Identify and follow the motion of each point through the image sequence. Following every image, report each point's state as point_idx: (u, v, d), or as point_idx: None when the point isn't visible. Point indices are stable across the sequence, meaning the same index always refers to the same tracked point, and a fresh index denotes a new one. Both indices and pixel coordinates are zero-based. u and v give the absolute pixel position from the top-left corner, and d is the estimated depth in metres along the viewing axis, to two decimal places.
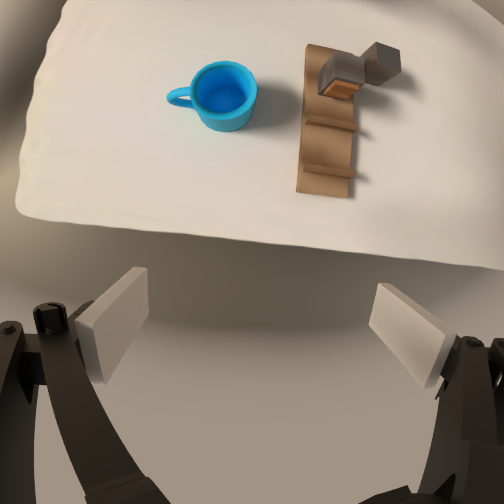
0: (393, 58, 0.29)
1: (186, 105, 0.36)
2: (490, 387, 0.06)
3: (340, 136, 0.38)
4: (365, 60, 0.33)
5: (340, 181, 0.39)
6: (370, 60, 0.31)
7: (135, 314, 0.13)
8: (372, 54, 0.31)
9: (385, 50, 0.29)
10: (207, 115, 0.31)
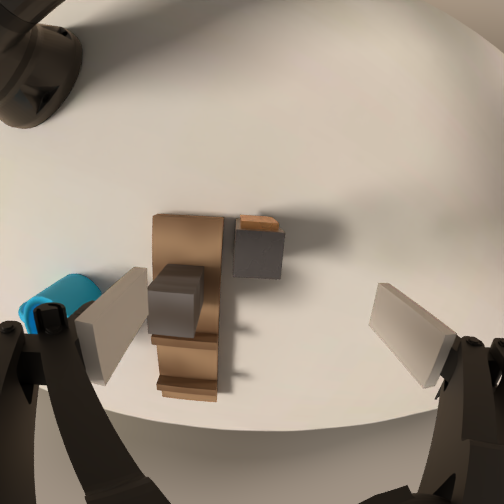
0: (268, 256, 0.24)
1: None
2: (490, 387, 0.06)
3: None
4: None
5: None
6: None
7: (135, 314, 0.13)
8: None
9: (253, 244, 0.23)
10: None
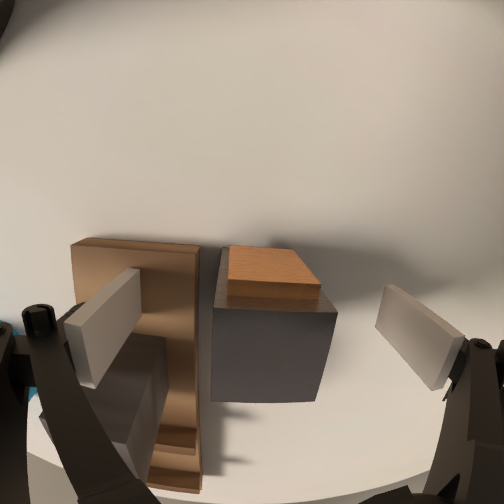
0: (292, 364, 0.09)
1: None
2: (497, 389, 0.05)
3: None
4: None
5: None
6: None
7: (127, 316, 0.12)
8: None
9: (257, 340, 0.09)
10: None
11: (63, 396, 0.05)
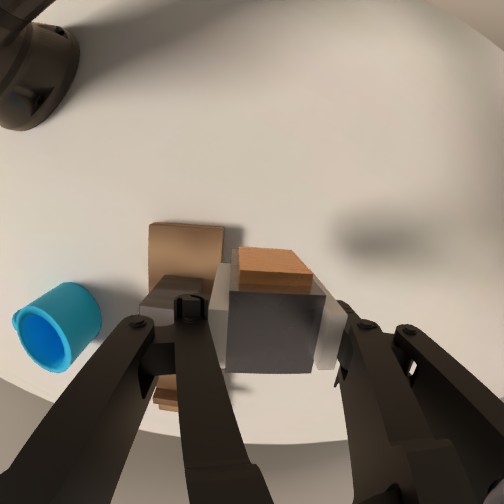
0: (291, 338, 0.12)
1: None
2: (401, 374, 0.07)
3: None
4: None
5: None
6: None
7: None
8: None
9: (263, 318, 0.12)
10: (40, 365, 0.23)
11: (201, 379, 0.07)
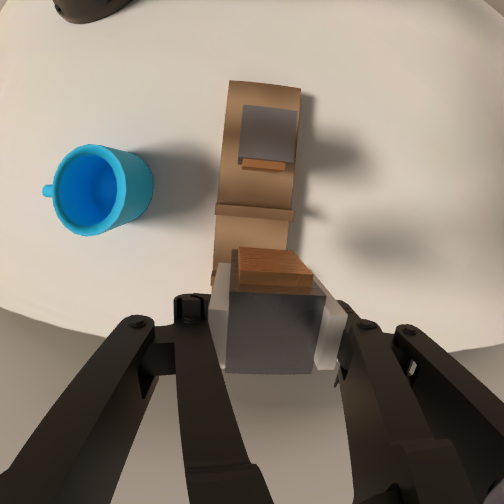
0: (291, 339, 0.12)
1: None
2: (401, 374, 0.07)
3: (270, 226, 0.29)
4: None
5: None
6: None
7: None
8: None
9: (263, 318, 0.12)
10: (72, 230, 0.22)
11: (201, 379, 0.07)
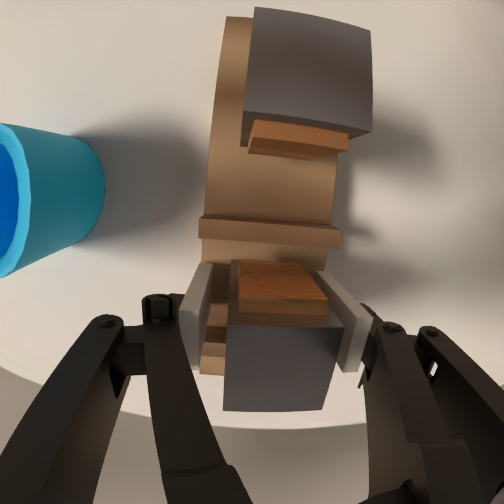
0: (301, 375, 0.10)
1: None
2: (423, 375, 0.07)
3: (296, 254, 0.17)
4: None
5: None
6: None
7: (208, 305, 0.15)
8: None
9: (268, 354, 0.09)
10: None
11: (172, 380, 0.06)
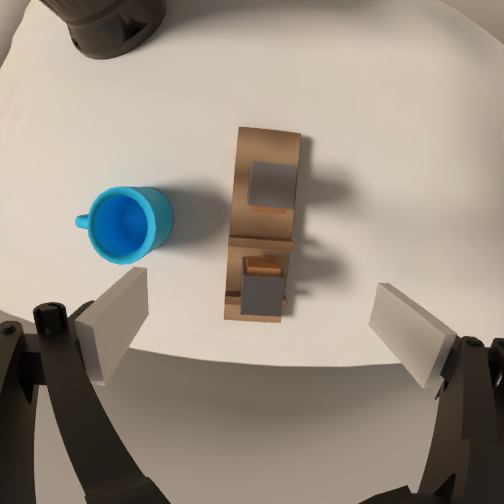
0: (270, 297, 0.27)
1: None
2: (490, 387, 0.06)
3: (274, 254, 0.35)
4: (241, 281, 0.31)
5: None
6: (241, 293, 0.29)
7: (135, 314, 0.13)
8: None
9: (258, 287, 0.27)
10: (107, 258, 0.28)
11: (73, 394, 0.05)
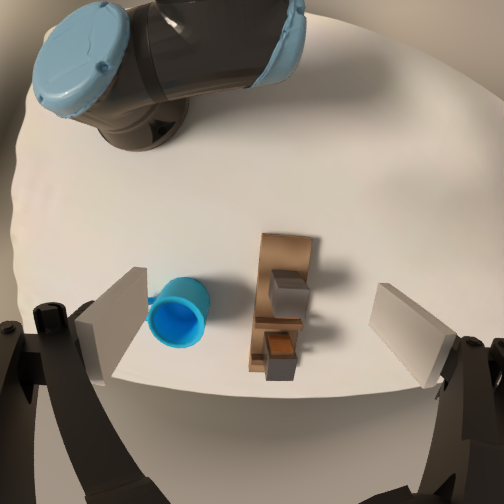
0: (286, 370, 0.38)
1: (150, 303, 0.44)
2: (490, 387, 0.06)
3: None
4: (265, 354, 0.42)
5: None
6: (265, 364, 0.40)
7: (135, 314, 0.13)
8: (266, 362, 0.39)
9: (278, 365, 0.38)
10: (166, 344, 0.38)
11: (73, 394, 0.05)
